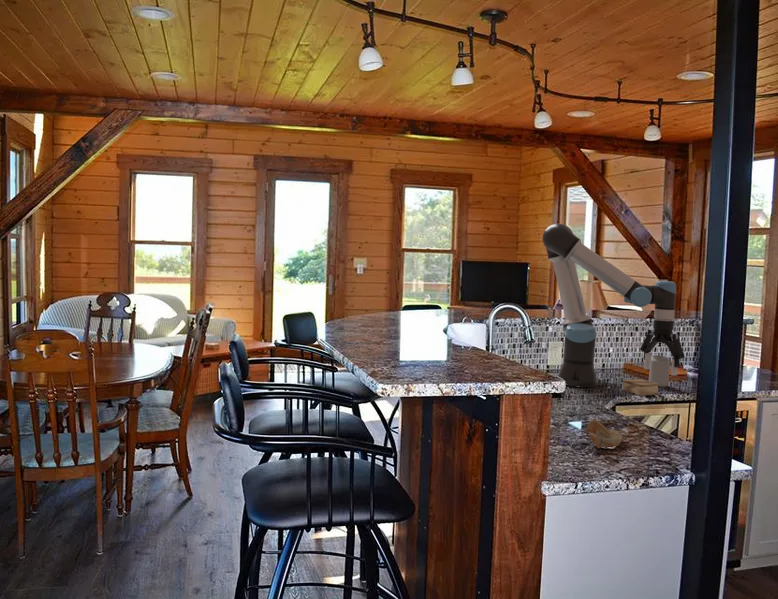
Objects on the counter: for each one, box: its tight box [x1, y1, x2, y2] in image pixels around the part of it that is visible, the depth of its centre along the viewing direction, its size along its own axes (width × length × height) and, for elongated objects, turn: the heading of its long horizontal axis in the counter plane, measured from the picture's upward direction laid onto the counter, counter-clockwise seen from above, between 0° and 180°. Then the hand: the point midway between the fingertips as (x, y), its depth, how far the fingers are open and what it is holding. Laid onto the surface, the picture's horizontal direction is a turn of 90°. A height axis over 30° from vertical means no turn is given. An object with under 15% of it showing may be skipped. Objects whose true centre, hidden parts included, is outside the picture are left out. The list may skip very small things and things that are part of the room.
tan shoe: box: [585, 417, 624, 449], centre depth 196 cm, size 9×21×10 cm, turn 143°
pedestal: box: [622, 378, 659, 397], centre depth 270 cm, size 9×9×4 cm
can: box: [648, 355, 671, 388], centre depth 284 cm, size 8×8×12 cm
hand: (660, 372), depth 284 cm, fingers open, 13 cm apart
